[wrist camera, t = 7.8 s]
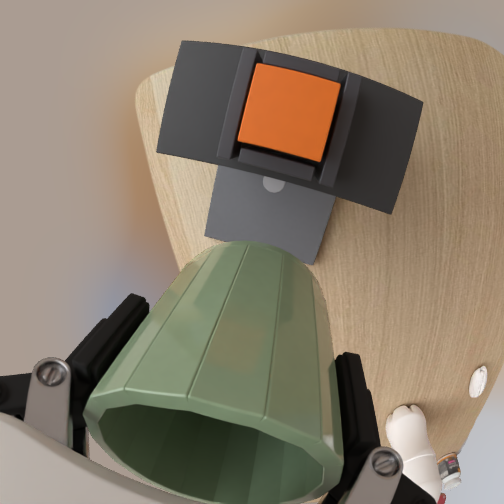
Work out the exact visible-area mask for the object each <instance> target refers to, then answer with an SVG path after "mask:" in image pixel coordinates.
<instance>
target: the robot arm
mask: <svg viewBox="0 0 504 504" xmlns="http://www.w3.org/2000/svg"><path fill="white" fill-rule="evenodd" d="M148 314H149V303H147V302H146V299H145V298H144V297H141V296H138V295H135V294H132V293H131V294H130V295H129V296H128V297H127V298H126V299H125V300H124V301H123V302H122V303H121V304H120V305H119V306H118V307H117V309H116V310H115V311H114V312H113V313H112V314H111V315H110V316H109V318H108V319H106V318H104V319H102V320H101V321H100V322H99V323H98V324H97V325H96V326H95V327H94V328H93V329H92V331H91V332H90V333H89V334H88V335H87V336H86V337H85V338H84V340H83V341H82V342H81V343H80V344H79V345H78V346H77V347H76V349H75V350H74V351H73V352H72V353H71V354H70V356H69V357H68V358H67V359H66V360H65V361H63V360H61V359H59V358H54V357H48V358H45V359H42V360H41V361H39V362H38V363H37V364H36V365H35V366H34V369H33V371H32V373H26V374H18V375H9V376H0V504H206V503H202V502H198V501H194V500H191V499H187V498H184V497H181V496H177V495H174V494H171V493H168V492H165V491H162V490H159V489H156V488H153V487H151V486H148V485H145V484H143V483H140V482H138V481H135V480H133V479H130V478H128V477H125V476H123V475H121V474H119V473H117V472H114V471H112V470H110V469H108V468H106V467H103V466H102V465H100V464H98V463H96V462H94V461H92V460H90V454H89V432H88V427H87V425H86V422H85V420H84V417H83V410H84V408H85V406H86V403H87V401H88V399H89V397H90V395H91V393H92V392H93V390H94V389H95V387H96V386H97V384H98V383H99V382H100V380H101V379H102V377H103V376H104V374H105V373H106V372H107V370H108V369H109V367H110V366H111V364H112V363H113V362H114V360H115V359H116V357H117V356H118V355H119V353H120V352H121V350H122V349H123V348H124V346H125V345H126V344H127V342H128V341H129V339H130V338H131V337H132V335H133V334H134V333H135V331H136V330H137V329H138V327H139V326H140V324H141V323H142V322H143V320H144V319H145V318H146V316H147V315H148ZM335 368H336V376H337V385H338V394H339V404H340V414H341V426H342V438H343V453H344V466H343V471H342V476H341V480H340V483H339V484H338V485H336V486H335V487H334V488H332V489H331V490H330V491H328V492H327V493H325V494H324V495H323V496H322V498H321V499H320V501H319V502H318V504H437V503H436V501H435V499H434V498H433V497H432V496H431V495H430V494H429V493H427V492H426V491H425V490H423V489H422V488H421V487H420V486H418V485H417V484H416V483H414V482H413V481H412V480H411V479H409V478H408V477H407V476H406V475H404V474H403V473H402V472H403V467H404V464H403V460H402V458H401V456H400V454H399V453H398V452H397V451H395V450H394V449H392V448H389V447H382V446H381V444H380V438H379V432H378V427H377V421H376V416H375V411H374V405H373V400H372V395H371V392H370V391H369V389H367V386H366V382H365V377H364V372H363V368H362V363H361V359H360V355H359V354H354V353H349V352H344V353H343V354H342V355H338V356H337V358H336V360H335Z"/></svg>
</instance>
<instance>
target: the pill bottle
mask: <svg viewBox="0 0 504 504" xmlns="http://www.w3.org/2000/svg"><path fill="white" fill-rule="evenodd" d="M437 465H438V470H439V474H440V478H441V480H442V483H443V484H445V485H444V489H445V490H449V489H452V488H454V487H456V486H458V485H459V484H460V483H461V479H460V478H459V477H460V475H461V472H460V468H459V463H458V460H457V456H456V454H455V453H450V454H447V455H445V456H443V457H442V458H440V459H439V460H438V462H437Z"/></svg>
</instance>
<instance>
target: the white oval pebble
mask: <svg viewBox="0 0 504 504" xmlns="http://www.w3.org/2000/svg"><path fill="white" fill-rule="evenodd" d="M486 382H487V368H486V367H485V366H482V367H481V368H479V369H477V370H476V371H475V372H474V373H473V375H472V377H471V380H470V386H469V393H470V396H471V397H478V396H479V395H480V394H481V393H482V392H483V390H484V388H485V386H486Z"/></svg>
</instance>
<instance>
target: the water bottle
mask: <svg viewBox="0 0 504 504" xmlns="http://www.w3.org/2000/svg"><path fill="white" fill-rule="evenodd" d="M386 433H387V438H388V440H389V442H390V444H391V447H392V449H394V450H395V451H397V452H398V453H399V454H400V456H401V458H402V460H403V464H404V467H403V472H402V473H403V474H404V475H406V476H407V477H408V478H409V479H411V480H412V481H413V482H414V483H416V484H417V485H418V486H420V487H421V488H422V489H423V490H425V491H426V492H427V493H429V494H430V495H431V496H432V497H433V498H434V499H435V501H436V503H437V502H438V500H439V497H440V494H441V490H442V480H441V479H440V474H439V470H438V466H437V462H436V455H435V452H434V450H433V448H432V447H431V445H430V442H429V439H428V436H427V428H426V419H425V416H424V414H423V412H422V411H421V409H420V408H419V407H417V406H416V405H411V406H410V408H408V407H406V406H405V405H404V406H400V407H398V408H396V409H395V410H394V412H393V415H392V414H390V415H389V416H388V418H387V421H386Z"/></svg>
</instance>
